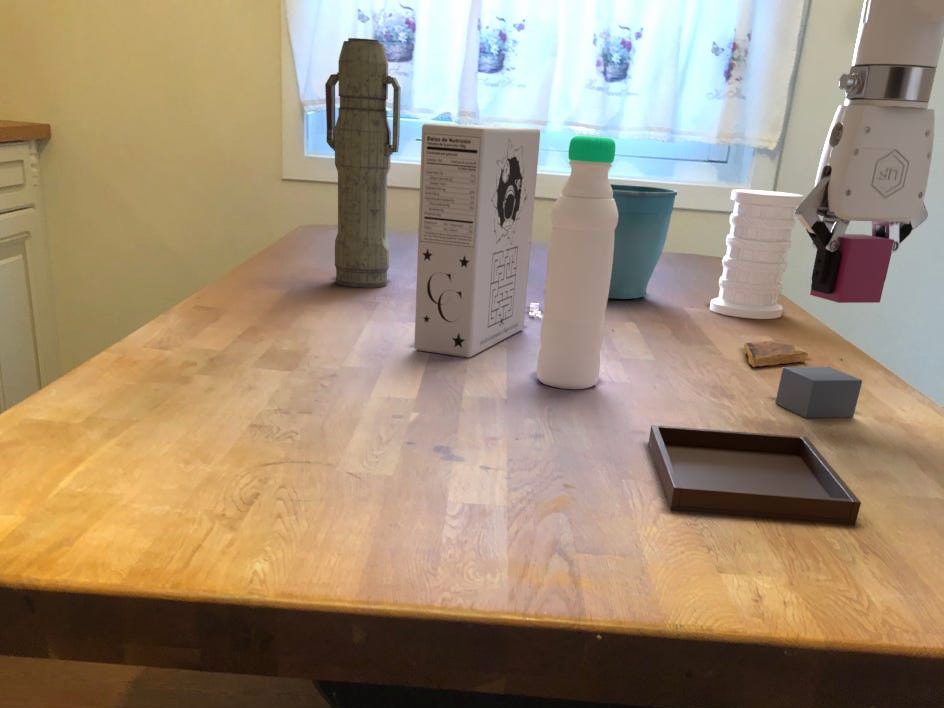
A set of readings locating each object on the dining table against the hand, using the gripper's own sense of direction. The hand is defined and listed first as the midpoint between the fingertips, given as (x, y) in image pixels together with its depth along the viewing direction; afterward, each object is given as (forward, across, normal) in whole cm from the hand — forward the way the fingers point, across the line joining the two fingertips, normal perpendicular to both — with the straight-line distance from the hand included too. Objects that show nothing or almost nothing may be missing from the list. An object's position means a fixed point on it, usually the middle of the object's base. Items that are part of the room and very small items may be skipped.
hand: (846, 290), depth 101 cm
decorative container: (+12, +24, +58) cm, 64 cm away
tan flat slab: (+13, +9, +23) cm, 27 cm away
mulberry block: (+1, 0, 0) cm, 1 cm away
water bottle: (+12, -24, +14) cm, 31 cm away
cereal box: (+12, -29, +36) cm, 48 cm away
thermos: (+11, -35, +80) cm, 88 cm away
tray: (+13, -22, -21) cm, 33 cm away
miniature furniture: (+12, -17, +54) cm, 58 cm away
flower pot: (+12, +7, +72) cm, 74 cm away
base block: (+13, 0, +1) cm, 13 cm away
